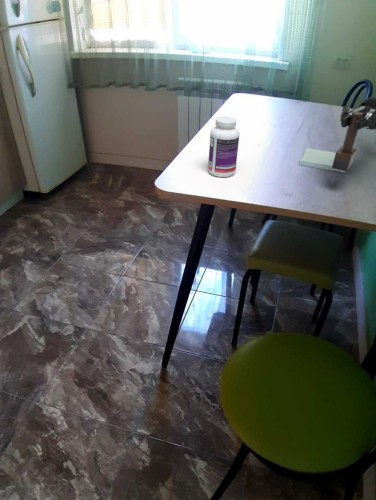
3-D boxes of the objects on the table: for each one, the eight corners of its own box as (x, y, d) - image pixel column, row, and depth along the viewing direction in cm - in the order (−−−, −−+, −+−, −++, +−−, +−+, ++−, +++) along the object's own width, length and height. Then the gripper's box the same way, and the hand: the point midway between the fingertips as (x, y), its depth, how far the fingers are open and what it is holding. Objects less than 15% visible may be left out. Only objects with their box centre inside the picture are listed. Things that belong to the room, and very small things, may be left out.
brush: (338, 161, 113) (352, 108, 104) (352, 164, 111) (368, 111, 102) (331, 168, 109) (346, 114, 100) (346, 171, 107) (362, 117, 98)
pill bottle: (240, 173, 121) (247, 119, 111) (224, 180, 116) (229, 126, 106) (218, 165, 124) (223, 113, 114) (202, 172, 120) (205, 119, 110)
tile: (349, 159, 132) (350, 155, 131) (345, 173, 124) (347, 168, 123) (305, 152, 135) (306, 147, 134) (299, 165, 127) (300, 160, 126)
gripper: (357, 89, 111) (327, 101, 101) (409, 100, 105) (383, 114, 95) (349, 119, 116) (320, 133, 106) (397, 131, 110) (372, 147, 100)
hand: (350, 124), depth 101 cm, fingers closed on brush, 2 cm apart
